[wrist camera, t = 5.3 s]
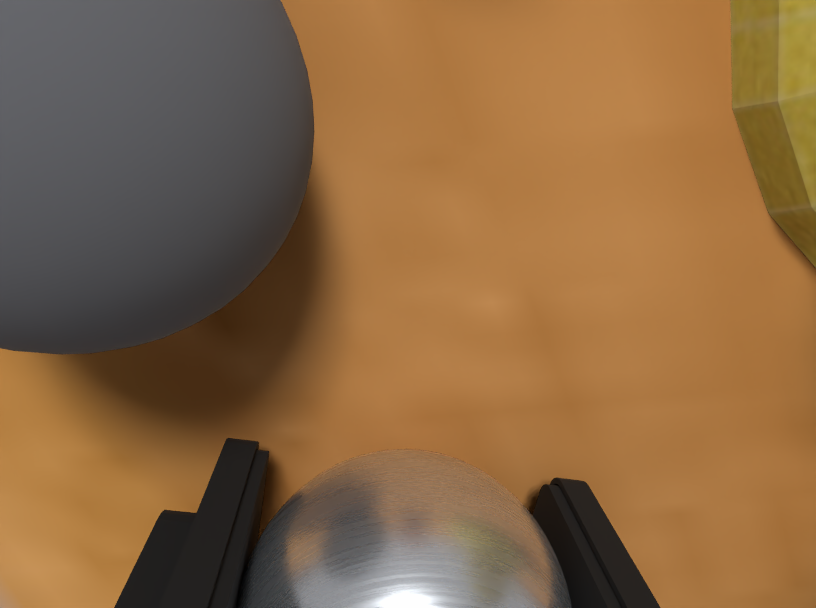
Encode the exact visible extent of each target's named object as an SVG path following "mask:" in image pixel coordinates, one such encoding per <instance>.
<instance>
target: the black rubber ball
mask: <svg viewBox="0 0 816 608" xmlns="http://www.w3.org/2000/svg"><path fill="white" fill-rule="evenodd" d="M313 142H314V116H313V100H312V94H311V89H310V83H309V78H308V73H307V68H306V65H305V62H304V59H303V55H302V52H301V49H300V46H299V42H298V39H297V36H296V34H295V31H294V29H293V27H292V25H291V22H290V20H289V18H288V16H287V13H286V11H285V9H284V7H283V4H282V2H281V1H280V0H0V348H2V349H8V350H13V351H25V352H38V353H50V354H85V353H96V352H103V351H109V350H116V349H122V348H127V347H133V346H137V345H141V344H144V343H148V342H151V341H154V340H158V339H161V338H164V337H167V336H169V335H171V334H173V333H176V332H178V331H180V330H183V329H185V328H187V327H189V326H191V325H193V324H195V323H197V322H199V321H201V320H203V319H204V318H206V317H208V316H209V315H211V314H213V313H214V312H216V311H218V310H219V309H221V308H223V307H224V306H225V305H226V304H228V303H229V302H230V301H231V300H233V299H234V298H235V297H236V296H238V295H239V294H240V293H241V292H243V291H244V290H245V289H246V288H247V287H248V286H249V284H250V283H251V282H252V281H253V280H254V279H255V278H256V277H257V276H258V275H259V274H260V273H261V272H262V271H263V269H264V268H265V267H266V266H267V265H268V264H269V263H270V261H271V260H272V258H273V257H274V256H275V254H276V253H277V251H278V250H279V249H280V247H281V246H282V244H283V243H284V241H285V239H286V237H287V235H288V233H289V231H290V230H291V228H292V226H293V224H294V222H295V220H296V218H297V215H298V212H299V209H300V207H301V204H302V201H303V198H304V195H305V192H306V189H307V184H308V179H309V174H310V169H311V164H312V156H313Z"/></svg>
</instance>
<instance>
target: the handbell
mask: <svg viewBox="0 0 816 608" xmlns="http://www.w3.org/2000/svg"><path fill="white" fill-rule="evenodd" d="M731 60H732V109H733V112H734V115H735V118H736V121H737V124H738V127H739V130H740V132H741V135H742V138H743V141H744V144H745V147H746V150H747V153H748V156H749V158H750V161H751V164H752V167H753V170H754V173H755V176H756V179H757V182H758V184H759V187H760V190H761V193H762V196H763V199H764V202H765V205H766V208H767V210H768V213H769V214H770V216H771V217H772V218H773V219H774V220H775V221H776V222H777V224H778V225H779V226H780V227H781V228H782V229H783V231H784V232H785V233H786V234H787V235H788V236H789V237H790V239H791V240H792V241H793V242H794V243H795V244H796V246H797V247H798V248H799V249H800V250H801V251H802V253H803V254H804V255H805V256H806V257H807V258H808V259H809V261H810V262H811V263H812V264H813V265H814V266H815V268H816V0H731Z"/></svg>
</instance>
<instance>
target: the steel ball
mask: <svg viewBox="0 0 816 608" xmlns="http://www.w3.org/2000/svg"><path fill="white" fill-rule="evenodd" d="M236 608H572V606H571V601H570V596H569V592H568V588H567V584H566V581H565V578H564V575H563V572H562V569H561V566H560V564H559V562H558V559H557V557H556V554H555V552H554V550H553V548H552V546H551V544H550V543H549V541H548V539H547V537H546V535H545V534H544V532H543V531H542V529H541V527H540V526H539V524H538V523H537V521H536V520H535V519H534V517H533V516H532V515H531V514H530V512H529V511H528V510H527V509H526V508H525V506H524V505H523V504H522V503H521V502H520V501H519V500H518V498H517V497H516V496H514V495H513V494H512V493H511V492H510V491H509V490H507V489H506V488H505V487H504V486H503V485H501V484H500V483H499V482H498V481H497V480H495V479H494V478H493V477H491V476H490V475H488V474H486V473H485V472H483V471H482V470H480V469H478V468H476V467H474V466H472V465H470V464H468V463H466V462H463V461H461V460H459V459H457V458H454V457H451V456H447V455H444V454H441V453H436V452H430V451H425V450H413V449H396V450H384V451H378V452H372V453H368V454H364V455H361V456H357V457H353V458H351V459H348V460H346V461H344V462H341V463H339V464H336V465H335V466H333V467H331V468H329V469H327V470H326V471H324V472H322V473H321V474H319V475H318V476H316V477H315V478H314V479H312V480H311V481H310V482H308V483H307V484H306V485H304V486H303V487H301V488H300V489H299V490H298V491H297V492H296V493H295V494H294V495H293V496H292V497H291V498H290V499H289V500H287V502H286V503H285V504H284V505H283V506H282V508H281V509H280V510H279V511H278V513H277V514H276V515H275V516H274V518H273V519H272V520H271V521H270V522H269V524H268V525H267V527H266V528H265V530H264V532H263V534H262V535H261V537H260V539H259V540H258V542H257V544H256V546H255V548H254V550H253V551H252V553H251V555H250V558H249V560H248V563H247V566H246V568H245V572H244V575H243V578H242V582H241V587H240V591H239V596H238V601H237V605H236Z"/></svg>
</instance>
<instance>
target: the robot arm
mask: <svg viewBox="0 0 816 608" xmlns="http://www.w3.org/2000/svg"><path fill="white" fill-rule="evenodd" d="M258 447H259V442H257V441H249V440H241V439H232V438H227V439H226V441H225V444H224V446H223V449H222V451H221V454H220V456H219V459H218V461H217V464H216V466H215V469H214V471H213V474H212V476H211V479H210V481H209V484H208V486H207V489H206V491H205V494H204V496H203V498H202V501H201V503H200V506H199V508H198V511H197V513H190V512H180V511H171V510H164V511H163V512H162V513H161V514H160V516H159V518H158V519H157V521H156V523H155V525H154V527H153V530H152V532H151V534H150V536H149V538H148V540H147V542H146V544H145V546H144V548H143V550H142V552H141V554H140V556H139V558H138V560H137V562H136V564H135V566H134V568H133V570H132V572H131V574H130V576H129V579H128V581H127V583H126V585H125V587H124V589H123V591H122V593H121V595H120V597H119V599H118V601H117V603H116V605H115V607H114V608H236V605H237V601H238V596H239V591H240V587H241V582H242V578H243V575H244V572H245V568H246V566H247V563H248V560H249V558H250V555H251V553H252V551H253V550H254V548H255V546H256V544H257V541H258V533H259V526H260V518H261V511H262V503H263V496H264V488H265V481H266V473H267V466H268V458H269V451H262V450H258ZM532 516H533V517H534V519H535V520H536V521H537V523H538V524H539V526H540V527H541V529H542V531H543V532H544V534H545V535H546V537H547V539H548V541H549V543H550V544H551V546H552V548H553V550H554V552H555V554H556V557H557V559H558V562H559V564H560V566H561V569H562V572H563V575H564V578H565V581H566V584H567V588H568V592H569V596H570V601H571V606H572V608H660V606H659V604H658V603H657V601H656V599H655V598H654V596H653V594H652V593H651V591H650V589H649V587H648V586H647V584H646V582H645V581H644V579H643V577H642V576H641V574H640V572H639V570H638V569H637V567H636V565H635V564H634V562H633V560H632V559H631V557H630V555H629V554H628V552H627V550H626V548H625V547H624V545H623V543H622V542H621V540H620V538H619V537H618V535H617V533H616V532H615V530H614V528H613V526H612V525H611V523H610V521H609V520H608V518H607V516H606V515H605V513H604V511H603V509H602V508H601V506H600V504H599V503H598V501H597V499H596V498H595V496H594V494H593V493H592V491H591V489H590V487H589V486H588V484H587V483H586V482H584V481H579V480H571V479H563V478H554V479H553V480H552V481H551V483H550V485H547V484H545V485H543V486H542V488H541V490H540V493H539V496H538V499H537V503H536V506H535V509H534V512H533V515H532Z"/></svg>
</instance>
